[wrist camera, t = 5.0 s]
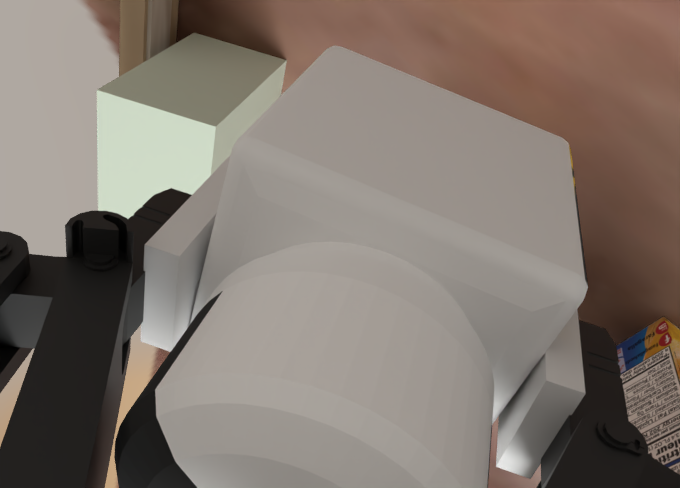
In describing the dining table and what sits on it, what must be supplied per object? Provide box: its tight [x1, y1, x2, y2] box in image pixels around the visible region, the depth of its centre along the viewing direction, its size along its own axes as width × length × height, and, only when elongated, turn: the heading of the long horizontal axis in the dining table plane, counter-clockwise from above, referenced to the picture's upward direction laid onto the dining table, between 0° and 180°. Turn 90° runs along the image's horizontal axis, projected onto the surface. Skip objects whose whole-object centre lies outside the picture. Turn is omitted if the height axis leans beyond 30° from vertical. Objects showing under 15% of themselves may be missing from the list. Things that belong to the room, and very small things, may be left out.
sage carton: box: [97, 33, 287, 219], centre depth 30 cm, size 5×6×9 cm
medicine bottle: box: [115, 46, 588, 488], centre depth 14 cm, size 7×7×12 cm
